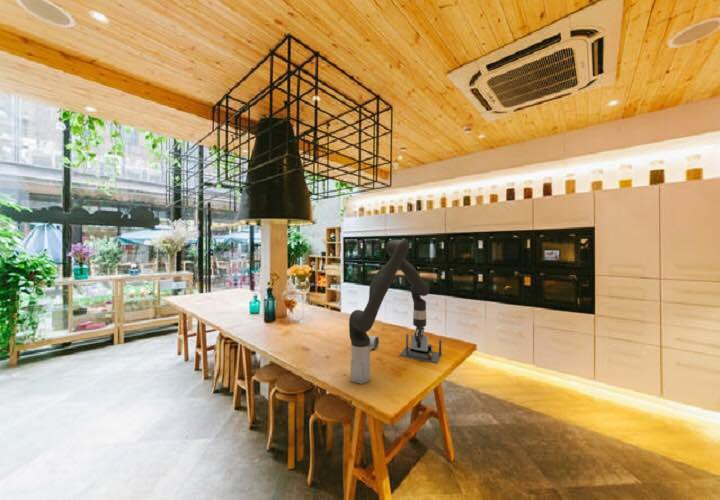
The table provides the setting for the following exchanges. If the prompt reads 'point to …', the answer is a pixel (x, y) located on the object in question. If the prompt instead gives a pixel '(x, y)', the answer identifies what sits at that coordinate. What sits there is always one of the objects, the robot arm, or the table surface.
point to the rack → (422, 353)
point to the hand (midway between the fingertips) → (419, 346)
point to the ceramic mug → (374, 342)
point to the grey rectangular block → (423, 343)
